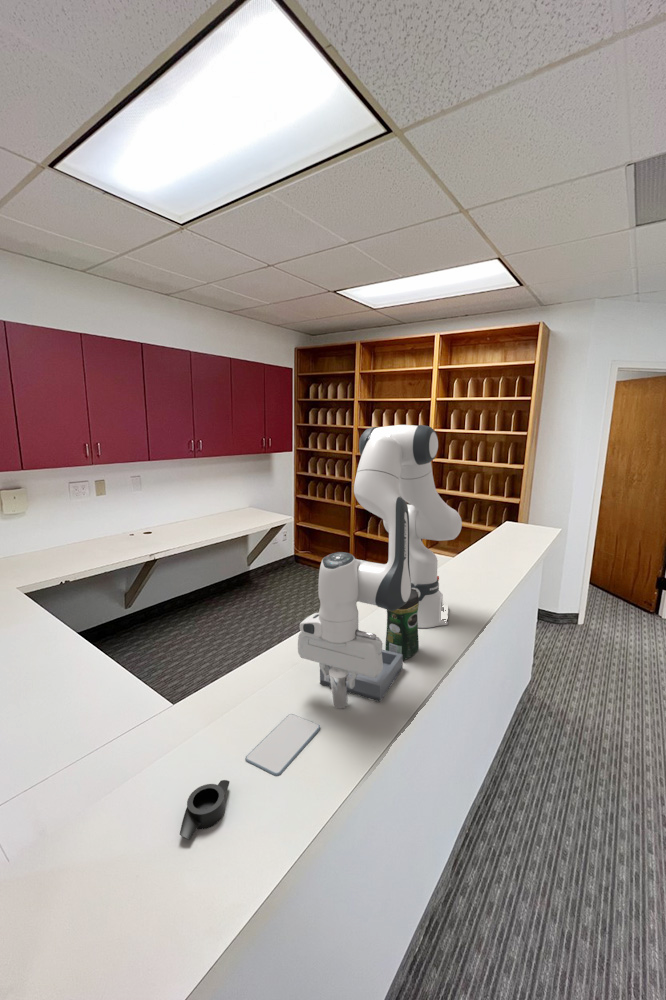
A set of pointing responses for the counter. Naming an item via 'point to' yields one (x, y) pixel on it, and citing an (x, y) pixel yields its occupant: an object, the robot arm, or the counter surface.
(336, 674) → the milkshake
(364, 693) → the tray
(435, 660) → the counter surface
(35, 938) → the counter surface
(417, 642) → the coffee jar
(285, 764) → the smartphone
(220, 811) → the black wing nut
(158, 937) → the counter surface
